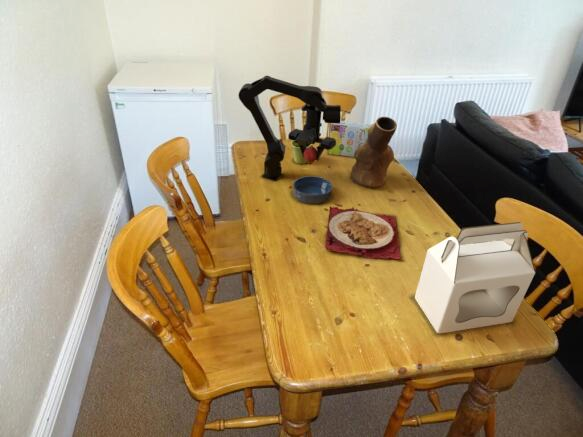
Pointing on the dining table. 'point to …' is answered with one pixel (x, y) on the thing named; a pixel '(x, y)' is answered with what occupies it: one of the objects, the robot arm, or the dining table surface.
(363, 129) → the snack box
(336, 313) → the dining table surface
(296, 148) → the plant pot
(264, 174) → the robot arm
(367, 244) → the plate with food
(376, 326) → the dining table surface
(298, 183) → the bowl
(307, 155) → the onion
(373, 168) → the ceramic vessel
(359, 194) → the dining table surface
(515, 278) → the gable box
